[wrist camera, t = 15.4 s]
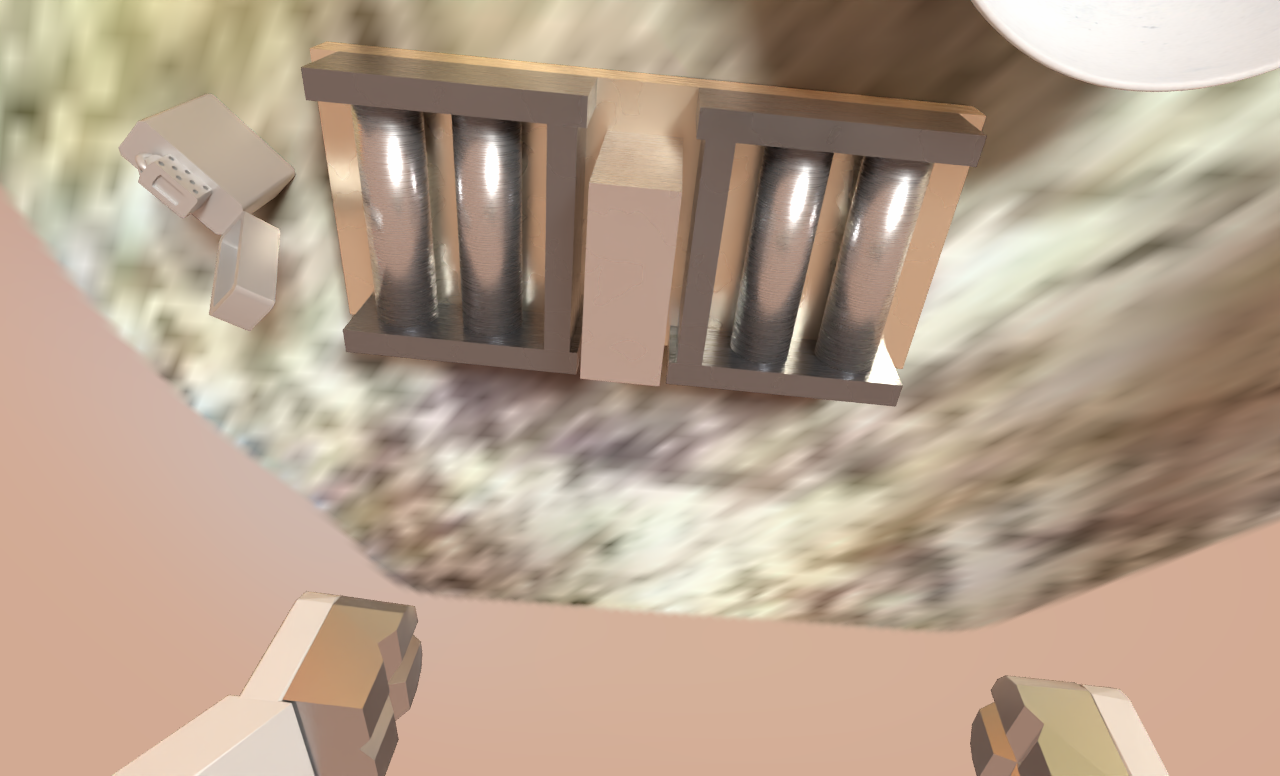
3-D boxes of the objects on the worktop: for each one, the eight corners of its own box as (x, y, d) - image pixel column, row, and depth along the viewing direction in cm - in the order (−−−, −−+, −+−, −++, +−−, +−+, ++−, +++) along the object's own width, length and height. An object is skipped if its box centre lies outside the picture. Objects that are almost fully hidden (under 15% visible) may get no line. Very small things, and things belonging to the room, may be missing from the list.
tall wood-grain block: (683, 137, 27) (682, 191, 22) (664, 307, 31) (659, 386, 26) (607, 130, 27) (589, 182, 22) (597, 301, 31) (580, 378, 26)
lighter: (185, 120, 29) (37, 185, 23) (208, 90, 29) (63, 148, 22) (332, 250, 32) (239, 342, 25) (356, 225, 31) (267, 313, 25)
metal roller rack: (972, 106, 27) (1018, 139, 24) (894, 351, 33) (920, 408, 29) (326, 41, 27) (269, 64, 24) (362, 298, 33) (321, 349, 29)
